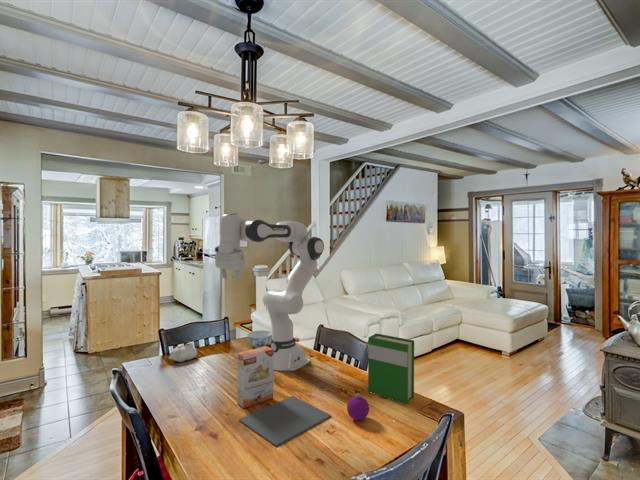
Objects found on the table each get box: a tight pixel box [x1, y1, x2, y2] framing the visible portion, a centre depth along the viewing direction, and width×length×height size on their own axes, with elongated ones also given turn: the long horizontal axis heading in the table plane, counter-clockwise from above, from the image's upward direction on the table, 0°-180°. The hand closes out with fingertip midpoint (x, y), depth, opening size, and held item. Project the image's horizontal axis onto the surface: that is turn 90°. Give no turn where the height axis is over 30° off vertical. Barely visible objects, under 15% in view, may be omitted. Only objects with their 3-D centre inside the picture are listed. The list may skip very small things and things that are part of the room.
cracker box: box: [236, 345, 274, 409], centre depth 141 cm, size 14×6×21 cm, turn 130°
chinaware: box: [247, 330, 272, 349], centre depth 210 cm, size 15×15×8 cm
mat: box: [238, 395, 332, 448], centre depth 127 cm, size 26×22×1 cm
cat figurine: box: [168, 342, 198, 363], centre depth 186 cm, size 10×8×15 cm
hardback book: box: [367, 333, 415, 405], centre depth 147 cm, size 18×7×24 cm, turn 54°
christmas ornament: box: [346, 393, 370, 421], centre depth 128 cm, size 8×8×10 cm
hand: (230, 279), depth 156 cm, fingers open, 8 cm apart
